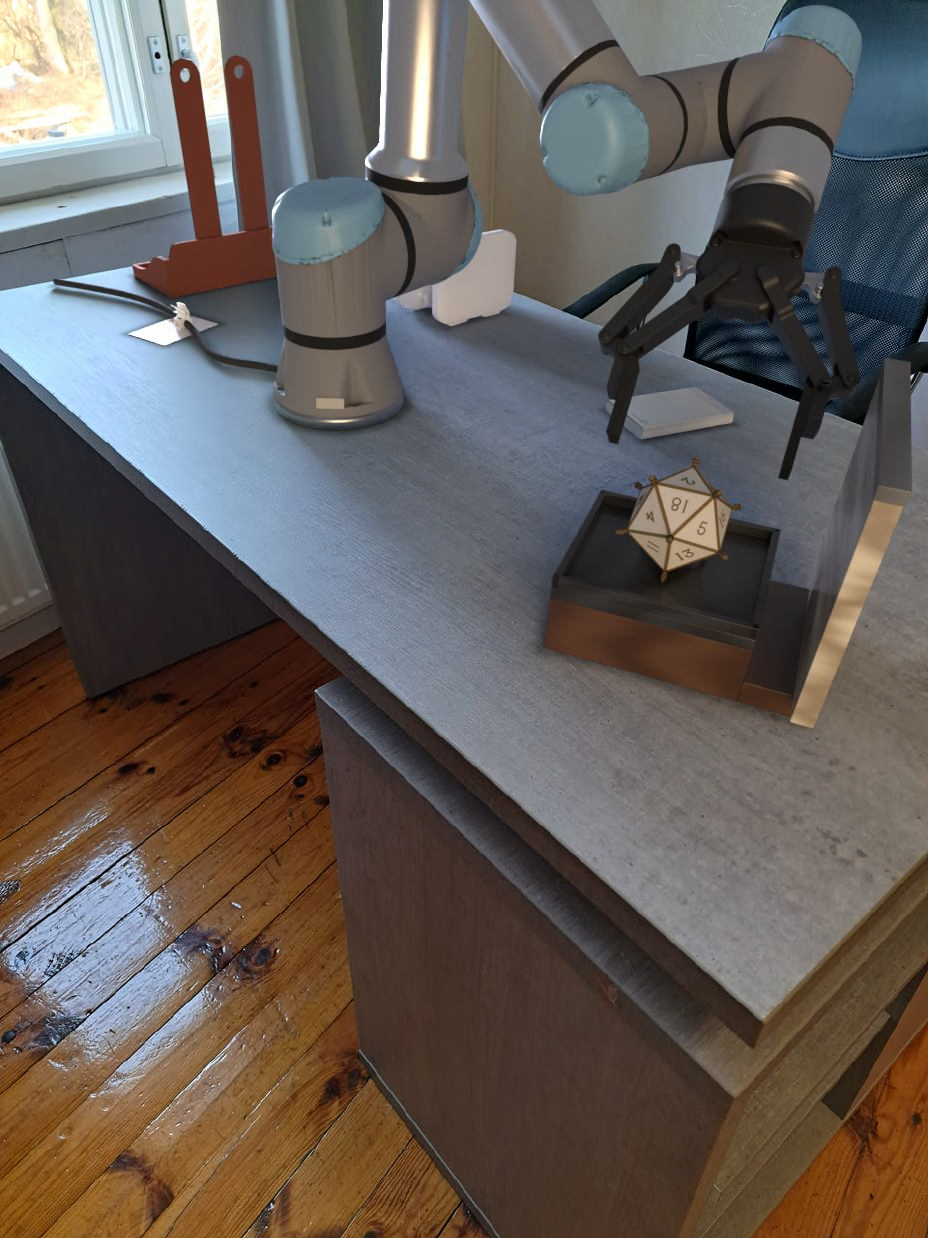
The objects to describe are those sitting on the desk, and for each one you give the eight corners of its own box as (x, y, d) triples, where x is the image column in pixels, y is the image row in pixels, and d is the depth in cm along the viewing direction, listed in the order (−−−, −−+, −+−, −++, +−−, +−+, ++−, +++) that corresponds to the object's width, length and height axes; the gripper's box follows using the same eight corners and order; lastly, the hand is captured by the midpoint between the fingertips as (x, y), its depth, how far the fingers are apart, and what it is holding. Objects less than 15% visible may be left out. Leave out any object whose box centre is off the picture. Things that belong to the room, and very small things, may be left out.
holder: (531, 671, 66) (557, 420, 53) (600, 538, 81) (634, 316, 68) (806, 751, 61) (912, 492, 47) (826, 592, 75) (910, 361, 62)
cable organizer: (434, 332, 121) (434, 246, 114) (390, 311, 128) (388, 227, 120) (513, 311, 129) (518, 229, 121) (469, 292, 135) (471, 213, 128)
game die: (643, 606, 69) (581, 527, 63) (669, 526, 73) (613, 444, 67) (749, 598, 63) (691, 510, 57) (772, 511, 67) (720, 420, 61)
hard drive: (643, 428, 96) (735, 411, 100) (606, 398, 102) (694, 383, 106) (641, 441, 97) (732, 424, 101) (605, 411, 103) (692, 396, 107)
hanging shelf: (267, 250, 149) (245, 43, 131) (308, 269, 142) (290, 53, 123) (134, 275, 137) (88, 50, 118) (170, 297, 129) (127, 61, 110)
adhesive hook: (195, 326, 120) (192, 303, 118) (182, 331, 119) (177, 309, 117) (180, 321, 122) (176, 299, 120) (166, 327, 120) (162, 304, 118)
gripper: (922, 255, 69) (853, 504, 68) (620, 215, 76) (552, 439, 75) (949, 198, 62) (873, 475, 60) (613, 159, 69) (538, 406, 67)
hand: (695, 455), depth 68 cm, fingers open, 13 cm apart
